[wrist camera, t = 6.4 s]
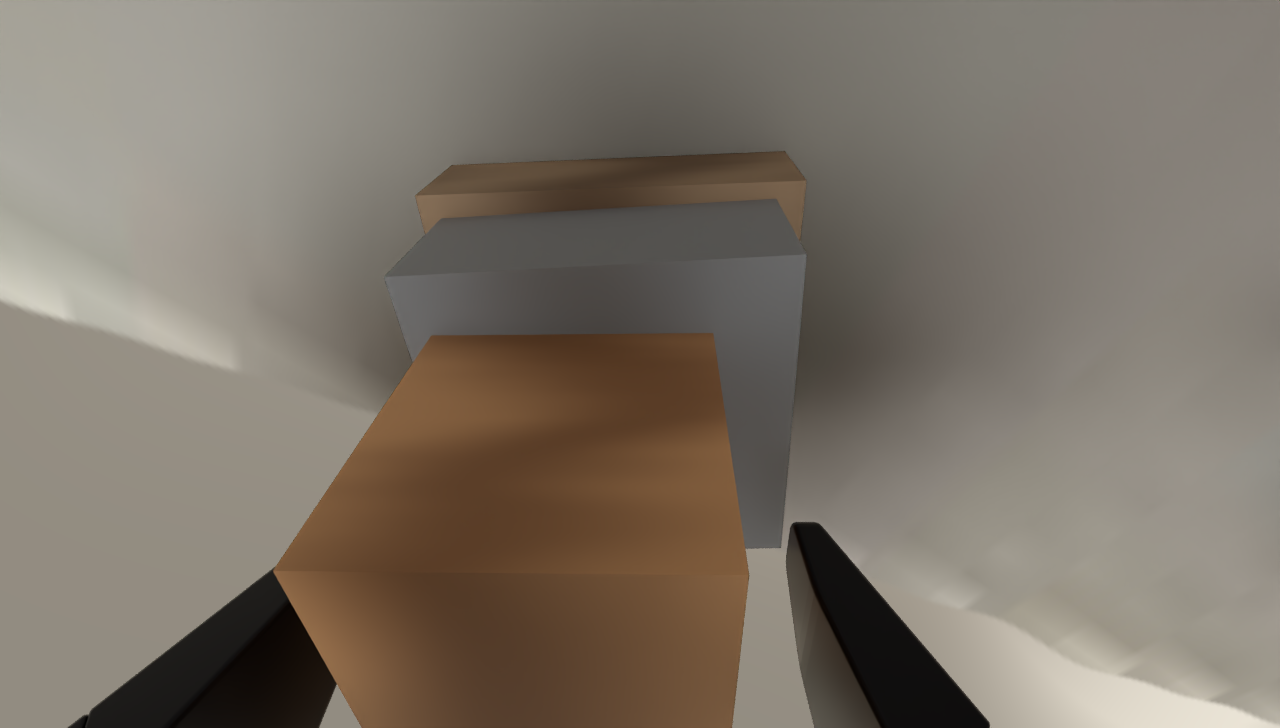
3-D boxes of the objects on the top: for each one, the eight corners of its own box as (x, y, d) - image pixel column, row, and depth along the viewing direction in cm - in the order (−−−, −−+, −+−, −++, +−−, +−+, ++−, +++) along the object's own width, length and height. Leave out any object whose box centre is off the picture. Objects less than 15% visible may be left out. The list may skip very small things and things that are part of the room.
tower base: (781, 146, 14) (806, 180, 12) (760, 409, 18) (775, 475, 16) (458, 160, 15) (415, 196, 12) (511, 413, 19) (488, 478, 16)
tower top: (776, 198, 12) (806, 254, 9) (761, 457, 16) (781, 547, 13) (440, 218, 12) (383, 277, 10) (505, 465, 16) (476, 554, 14)
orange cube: (712, 333, 10) (748, 575, 6) (704, 530, 13) (724, 793, 9) (431, 335, 10) (273, 570, 6) (480, 528, 13) (394, 784, 9)
